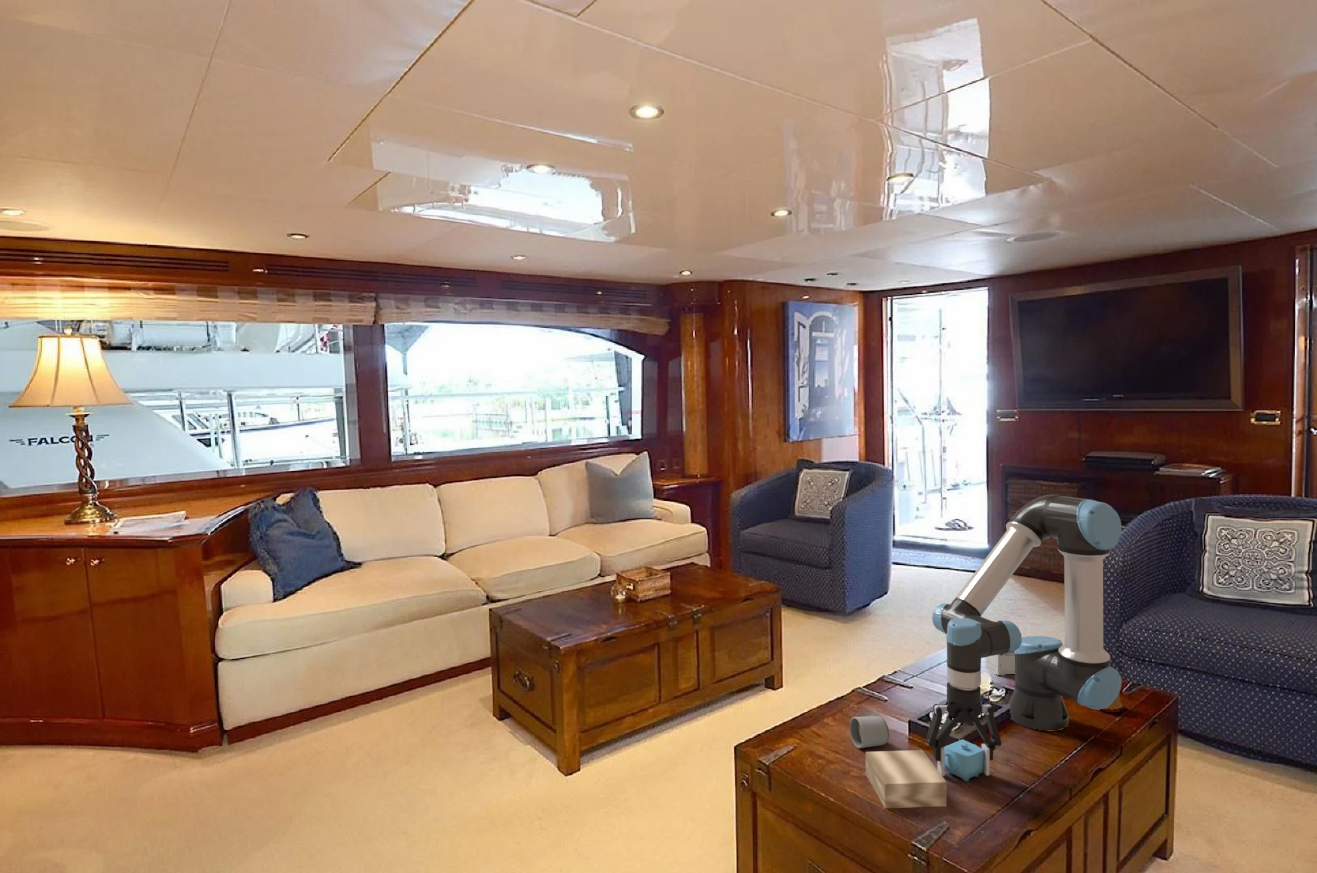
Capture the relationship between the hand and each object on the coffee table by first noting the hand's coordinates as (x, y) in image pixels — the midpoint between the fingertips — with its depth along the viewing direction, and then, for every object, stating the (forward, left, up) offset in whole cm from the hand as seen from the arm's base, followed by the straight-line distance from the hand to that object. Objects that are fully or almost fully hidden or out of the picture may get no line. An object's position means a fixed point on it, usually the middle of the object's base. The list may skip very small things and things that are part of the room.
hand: (963, 772), depth 171 cm
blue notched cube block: (0, 0, -1) cm, 1 cm away
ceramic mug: (+19, -16, -1) cm, 25 cm away
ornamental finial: (-55, -34, -1) cm, 65 cm away
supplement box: (-37, -61, -1) cm, 71 cm away
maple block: (+16, +6, -1) cm, 17 cm away
